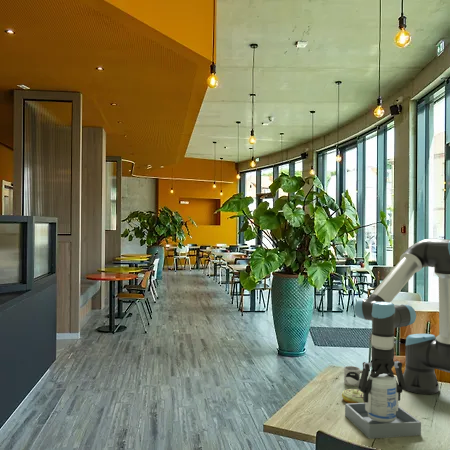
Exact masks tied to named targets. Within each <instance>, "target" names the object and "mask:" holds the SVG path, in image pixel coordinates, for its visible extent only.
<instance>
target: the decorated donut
mask: <svg viewBox="0 0 450 450" xmlns="http://www.w3.org/2000/svg"><path fill="white" fill-rule="evenodd" d="M341 398H342V399H343V401H344V402H345V403H347V404H349V403H365V402H364V400H363V392H361V391H360V390H359V389H358V388H348V389H345V390H343V391H342V393H341Z"/></svg>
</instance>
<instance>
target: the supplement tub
mask: <svg viewBox="0 0 450 450" xmlns="http://www.w3.org/2000/svg"><path fill="white" fill-rule="evenodd" d="M375 373H376V372H375ZM370 374H371V372H369V375H368V378H369V379H371V380H372V388H371V390H370V392H369V393H370V394H371V413H368V416H369V418H371V419H372V420H374V421H377V422H383V423H390V422H393V421H395V419H396V381H397V376H395V377H390V376H388V375H387V374H379V376H378V377H377V378H372V377H371V376H370Z"/></svg>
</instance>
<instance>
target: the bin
mask: <svg viewBox="0 0 450 450" xmlns="http://www.w3.org/2000/svg"><path fill="white" fill-rule="evenodd" d="M344 405H345V406H344V416H345V417H346V418H347V419H348V420H349V421H350V422H351V423H352V424H353V425H354V426H356V427H357V429H358V430H360V431H361V432H362V434H363V435H365V437H367V439H369V440H370V439H383V438H385V439H386V438H398V437H399V438H400V437H411V436H413V437H414V436H416V437H417V436H421V435H422V422H421V421H420V420H419V419H417V418H416V417H414V416H413V415H412V414H410V413H409V412H407V411H406V410H405V409H404V408H402V407H401V406H400V405H398V411H396V419H395V421H393V422H390V423H383V422H377V421H374V420H372V419H371V418H369V416H368V412H367V411H366V410H365V403H344Z"/></svg>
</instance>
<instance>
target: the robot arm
mask: <svg viewBox="0 0 450 450" xmlns="http://www.w3.org/2000/svg"><path fill="white" fill-rule="evenodd" d="M427 267H430V268H433V269H434V271H433V272H434V274H435V275H436V276H437V277H438V320H439V321H438V322H439V324H438V325H439V334H438V335H437V336H436V335H435V334H432V333H431V334H430V333H413V334H409V335H407V336H406V339H405V367H404V368H405V369H404V372H403V370H402V367H403V363H402V362H400V361H399V360H396V361H394V358H395V349H394V347H395V329H397V328H402V327H408V326H410V325H413V324H414V323H415V322H416V320H417V312H416V310H415V308H413V306H411V305H409V304H400V305H399V304H394V303H393V302H392V301H393V300H394V299H395V298H396V296H397V295H398V294H399V293H400V292H401V290H402V289H403V288H404V287H405V285H406V284H407V283H408V282H409V281H410V280H411V278H412V277H413V276H414V275H415V273H418V272H420V271H421V270H422V269H423V268H427ZM353 308H354V313H355V314H354V315H356V316H357V318H359V319H362V320H365V321H371V347H370V348H371V351H370V352H371V355H370V356H371V361H370V362H366V361H363V362H362V373H360V382H359V386H357V390H360V391H361V392H363V400H364V402H365V410H366V411H367V412H368V413H371V394H370V393H369V392H370V390H371V388H372V380H371V379H369V378H368V377H369V374H370V373H371V374H370V376H371V377H372V378H377V377H378V376H379V374H387V375H388V376H390V377H396V411H398V406H399V401H400V400H401V394H402V392H403V391H408V392H410V393H414V394H420V395H433V394H438V393H439V391H440V386H439V385H440V384H439V381H438V379H437V375H436V373H435V369H436V370H439V371H443V372H446V373H450V239H445V238H443V239H442V238H439V239H438V238H425V239H422V240H419V241H418V242H415V243H414V244H412V245H411V246H409V247H408V248H407V249H406V250H405V251H403V253H402V254H401V255H400V257H399V261H398V262H397V264H396V265H395V266H394V267H393V268H392V269H391V270H390V272H389V273H388V274H387V275H386V276H385V277H384V278H383V280H382V281H381V282H380V284H379V285H378V286H377V287H376V288H375V289H374V291H372V292H371V294H370V295H369V296H368V297H367V298H366V299H365V298H361V299H358V300H356V302H355V304H354V307H353ZM393 367H394V369H395V373H394V372H393V370H392V369H393ZM375 372H376V373H375ZM395 375H396V376H395Z"/></svg>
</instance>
